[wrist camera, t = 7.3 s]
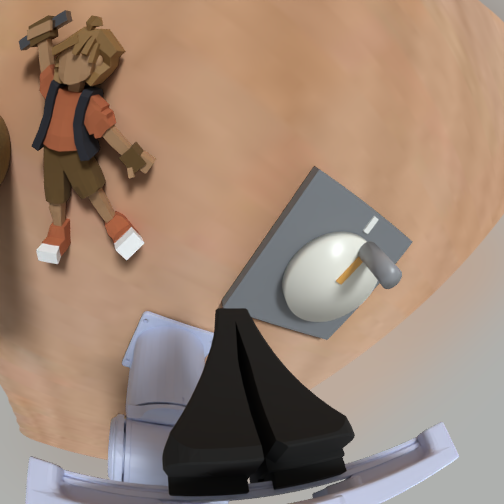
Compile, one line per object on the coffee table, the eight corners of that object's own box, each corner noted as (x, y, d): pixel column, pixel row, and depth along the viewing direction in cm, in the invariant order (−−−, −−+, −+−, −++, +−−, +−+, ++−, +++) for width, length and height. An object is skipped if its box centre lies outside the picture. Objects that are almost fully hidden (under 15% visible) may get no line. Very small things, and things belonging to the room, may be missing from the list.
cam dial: (327, 324, 28) (345, 362, 24) (261, 292, 24) (274, 337, 20) (392, 258, 25) (421, 291, 21) (335, 207, 21) (369, 241, 17)
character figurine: (53, 244, 20) (35, 270, 17) (38, 30, 10) (11, 24, 7) (155, 241, 22) (148, 270, 18) (159, 5, 12) (149, -14, 9)
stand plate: (324, 333, 31) (327, 340, 30) (221, 300, 25) (222, 308, 24) (407, 236, 25) (413, 242, 24) (314, 165, 20) (320, 170, 19)
